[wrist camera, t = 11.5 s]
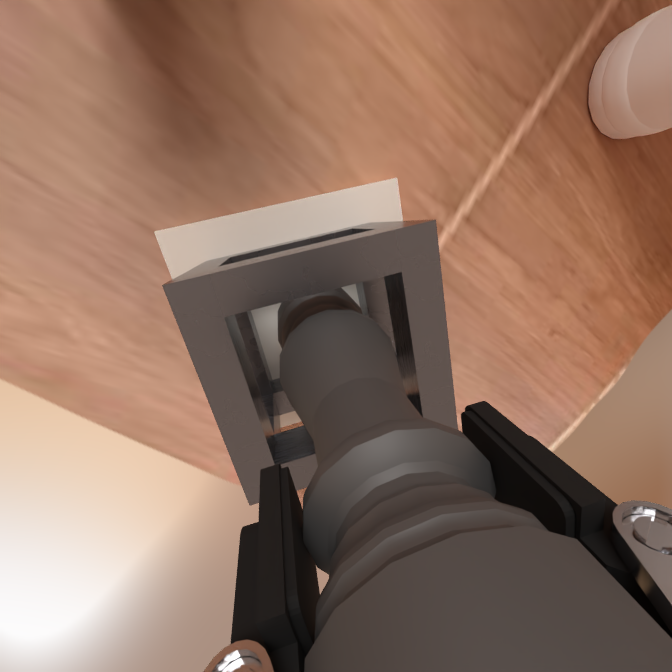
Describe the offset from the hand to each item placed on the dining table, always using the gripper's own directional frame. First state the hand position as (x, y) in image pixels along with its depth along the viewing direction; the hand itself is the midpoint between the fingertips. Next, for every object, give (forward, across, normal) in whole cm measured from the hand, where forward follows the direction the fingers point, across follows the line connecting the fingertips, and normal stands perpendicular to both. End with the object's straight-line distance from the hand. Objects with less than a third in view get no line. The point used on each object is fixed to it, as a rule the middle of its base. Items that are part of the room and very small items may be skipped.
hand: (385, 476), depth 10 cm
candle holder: (+18, 0, 0) cm, 18 cm away
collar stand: (+20, 0, 0) cm, 20 cm away
